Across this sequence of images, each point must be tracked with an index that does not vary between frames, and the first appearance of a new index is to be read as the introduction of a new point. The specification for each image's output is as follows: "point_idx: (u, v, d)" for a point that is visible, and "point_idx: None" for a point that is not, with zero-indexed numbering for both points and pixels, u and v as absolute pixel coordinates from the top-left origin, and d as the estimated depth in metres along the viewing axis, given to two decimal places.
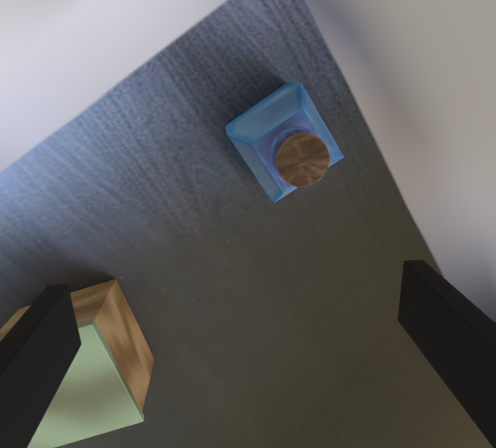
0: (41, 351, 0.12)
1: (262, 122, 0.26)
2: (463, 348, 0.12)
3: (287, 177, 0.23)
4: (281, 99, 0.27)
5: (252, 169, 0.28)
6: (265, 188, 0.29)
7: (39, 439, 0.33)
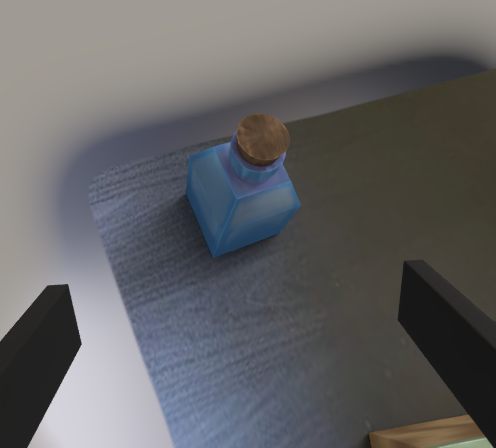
0: (41, 351, 0.12)
1: (218, 191, 0.26)
2: (463, 348, 0.12)
3: (277, 152, 0.22)
4: (200, 174, 0.27)
5: (262, 216, 0.27)
6: (284, 208, 0.28)
7: None
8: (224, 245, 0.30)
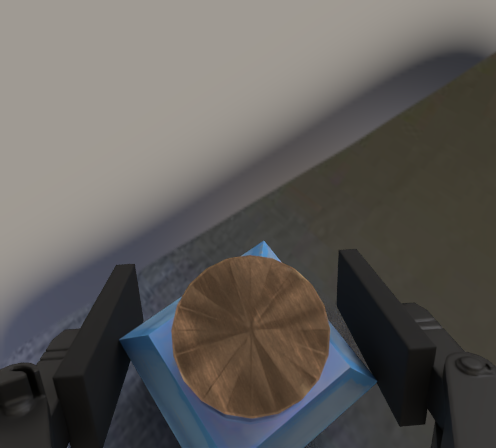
0: (122, 320, 0.14)
1: (187, 430, 0.11)
2: (374, 326, 0.13)
3: (304, 374, 0.07)
4: (146, 381, 0.12)
5: (303, 443, 0.12)
6: (345, 405, 0.12)
7: None
8: None
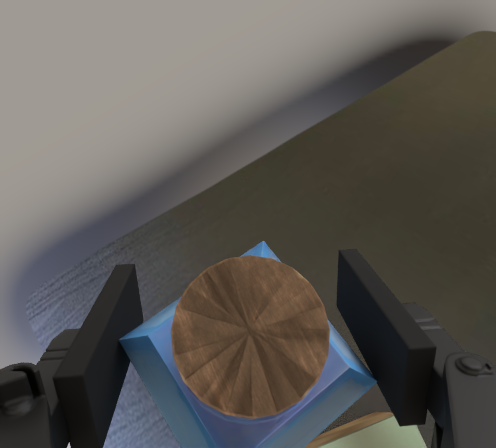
0: (122, 320, 0.14)
1: (187, 430, 0.11)
2: (374, 326, 0.13)
3: (303, 374, 0.07)
4: (146, 381, 0.12)
5: (303, 443, 0.12)
6: (345, 405, 0.12)
7: None
8: None
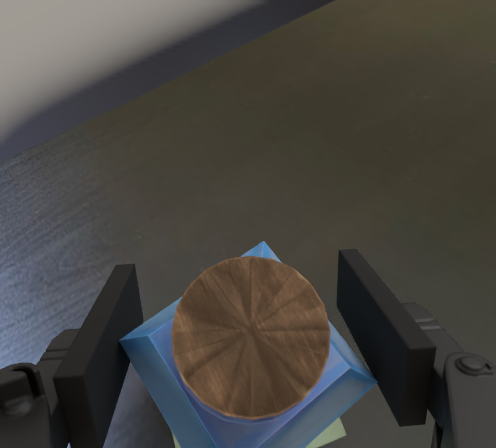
0: (122, 320, 0.14)
1: (187, 431, 0.11)
2: (374, 326, 0.13)
3: (304, 375, 0.07)
4: (146, 381, 0.12)
5: (304, 444, 0.12)
6: (346, 406, 0.12)
7: None
8: None
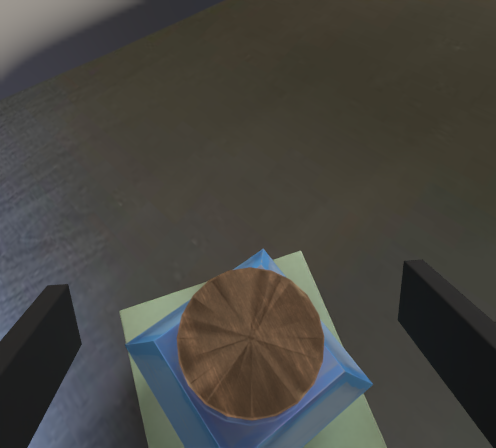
0: (41, 351, 0.12)
1: (191, 431, 0.12)
2: (463, 348, 0.12)
3: (300, 379, 0.08)
4: (151, 384, 0.13)
5: (301, 443, 0.12)
6: (342, 407, 0.13)
7: (347, 424, 0.18)
8: None
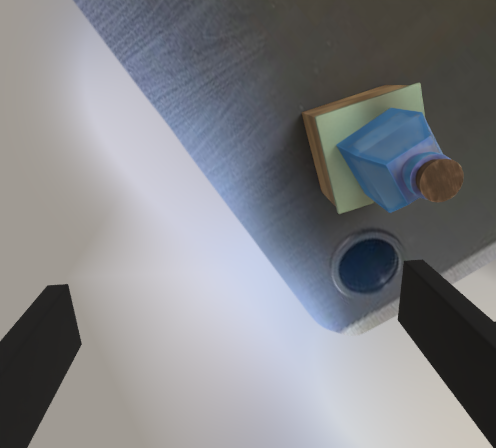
0: (41, 351, 0.12)
1: (388, 191, 0.33)
2: (463, 348, 0.12)
3: (452, 192, 0.28)
4: (369, 172, 0.33)
5: None
6: None
7: None
8: None
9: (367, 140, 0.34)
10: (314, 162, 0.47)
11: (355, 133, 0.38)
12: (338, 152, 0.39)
